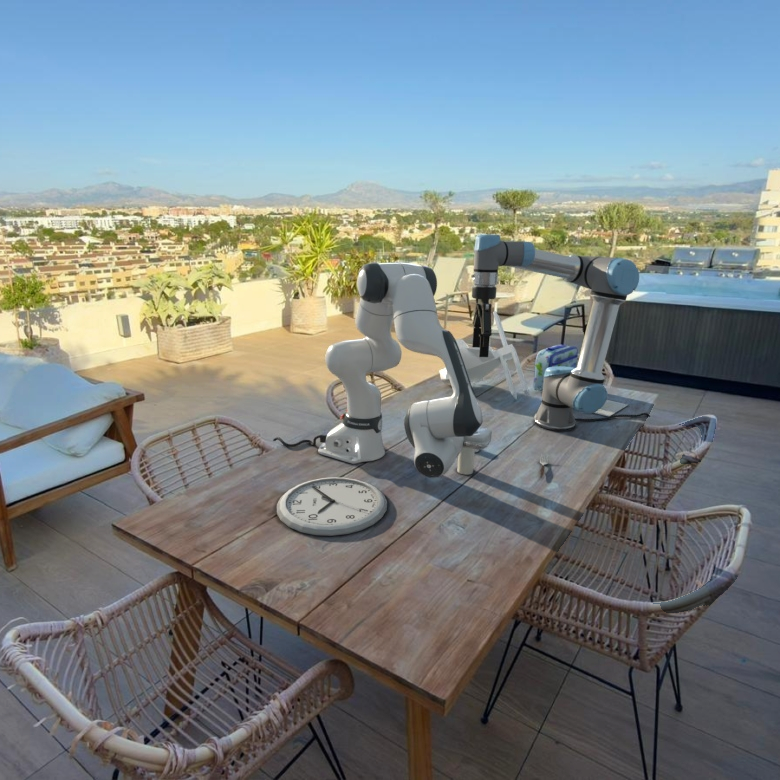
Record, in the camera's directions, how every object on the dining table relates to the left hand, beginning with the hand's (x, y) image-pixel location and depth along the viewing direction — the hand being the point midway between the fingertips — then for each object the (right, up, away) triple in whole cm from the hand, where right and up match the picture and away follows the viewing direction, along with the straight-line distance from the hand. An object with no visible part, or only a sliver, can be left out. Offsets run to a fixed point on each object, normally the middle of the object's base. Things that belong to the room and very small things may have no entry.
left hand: (459, 424), depth 148 cm
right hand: (+10, +22, +22) cm, 33 cm away
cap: (+9, -9, +32) cm, 34 cm away
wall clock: (-35, -22, -5) cm, 42 cm away
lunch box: (+59, +10, +102) cm, 118 cm away
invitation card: (+72, +2, +78) cm, 106 cm away
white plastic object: (+22, +8, +95) cm, 98 cm away
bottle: (+4, -16, +17) cm, 23 cm away
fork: (+29, -16, +19) cm, 38 cm away
